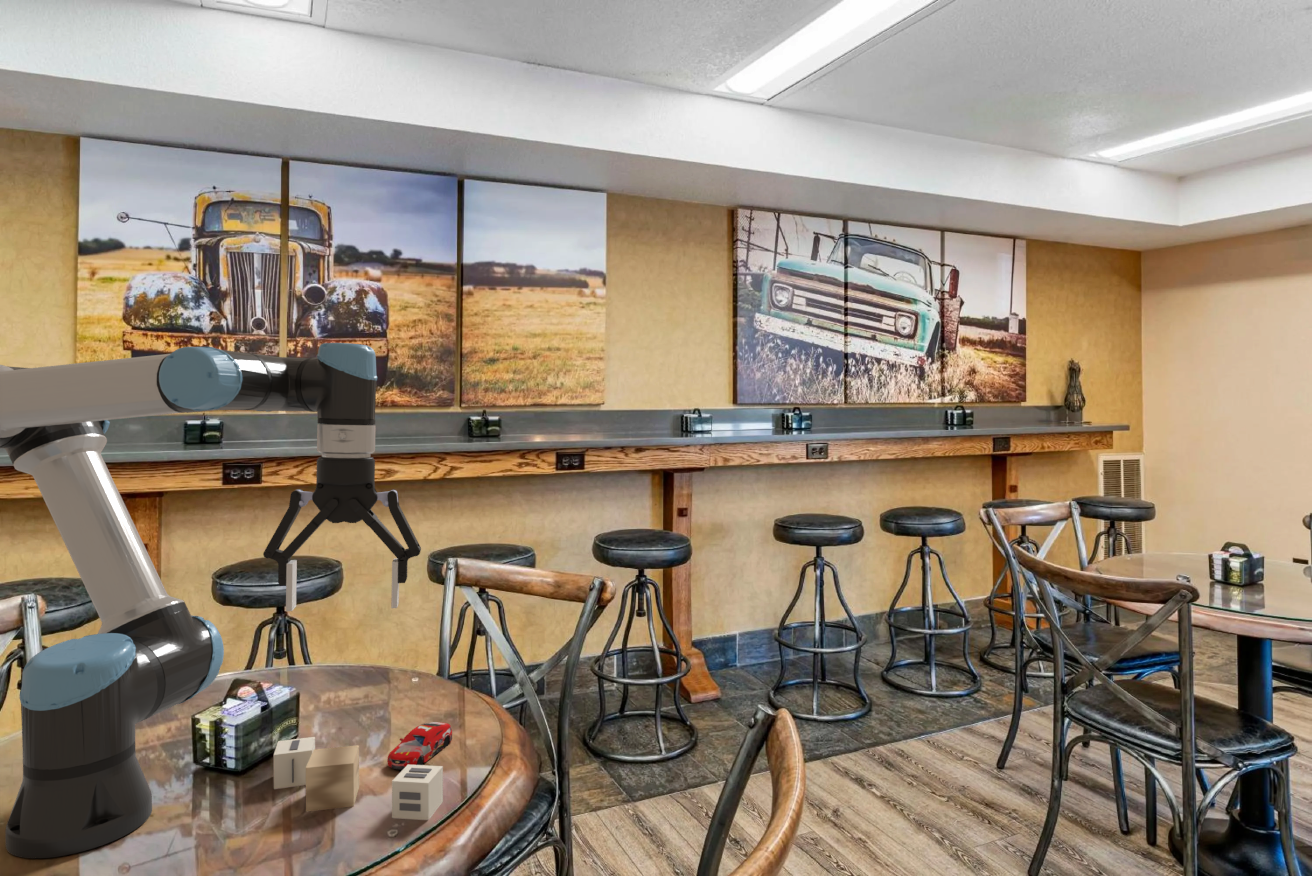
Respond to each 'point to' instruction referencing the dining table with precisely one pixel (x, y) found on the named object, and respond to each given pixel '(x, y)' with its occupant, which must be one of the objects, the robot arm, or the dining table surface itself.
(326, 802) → the plain block
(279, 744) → the marked block
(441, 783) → the marked block
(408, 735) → the race car
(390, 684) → the dining table surface
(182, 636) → the robot arm
